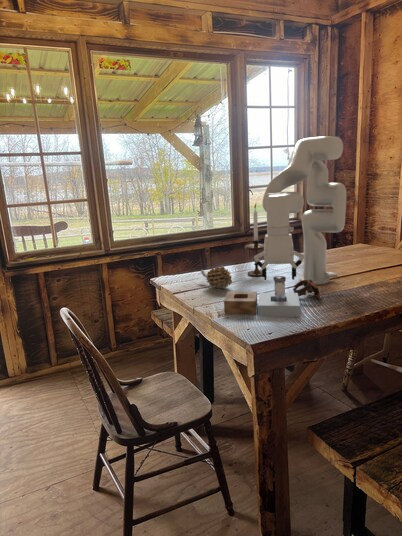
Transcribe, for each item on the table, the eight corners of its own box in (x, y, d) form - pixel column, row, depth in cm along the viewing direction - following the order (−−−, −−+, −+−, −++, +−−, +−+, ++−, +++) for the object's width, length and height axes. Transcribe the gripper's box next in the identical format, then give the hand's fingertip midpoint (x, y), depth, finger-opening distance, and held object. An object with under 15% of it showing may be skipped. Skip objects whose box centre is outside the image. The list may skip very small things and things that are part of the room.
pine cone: (239, 289, 159) (238, 266, 157) (222, 294, 153) (221, 271, 151) (207, 279, 176) (206, 259, 174) (191, 284, 171) (189, 263, 168)
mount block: (257, 304, 139) (256, 291, 138) (255, 314, 129) (255, 301, 128) (228, 303, 142) (227, 291, 140) (224, 314, 131) (224, 301, 130)
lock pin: (285, 307, 134) (285, 275, 131) (286, 311, 130) (285, 279, 127) (274, 307, 135) (273, 275, 132) (273, 311, 131) (273, 279, 128)
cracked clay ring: (321, 304, 137) (311, 286, 135) (299, 311, 142) (288, 295, 140) (324, 287, 147) (314, 270, 145) (302, 294, 152) (292, 279, 150)
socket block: (297, 302, 138) (297, 292, 137) (300, 316, 125) (300, 305, 124) (259, 302, 141) (259, 292, 140) (258, 316, 127) (258, 305, 126)
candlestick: (272, 275, 177) (271, 201, 168) (252, 278, 173) (250, 203, 165) (261, 270, 187) (259, 200, 178) (241, 273, 183) (239, 202, 175)
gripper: (303, 228, 128) (303, 275, 132) (253, 230, 131) (255, 276, 136) (305, 232, 121) (305, 281, 125) (252, 234, 124) (254, 282, 129)
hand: (279, 278), depth 130 cm, fingers open, 9 cm apart
